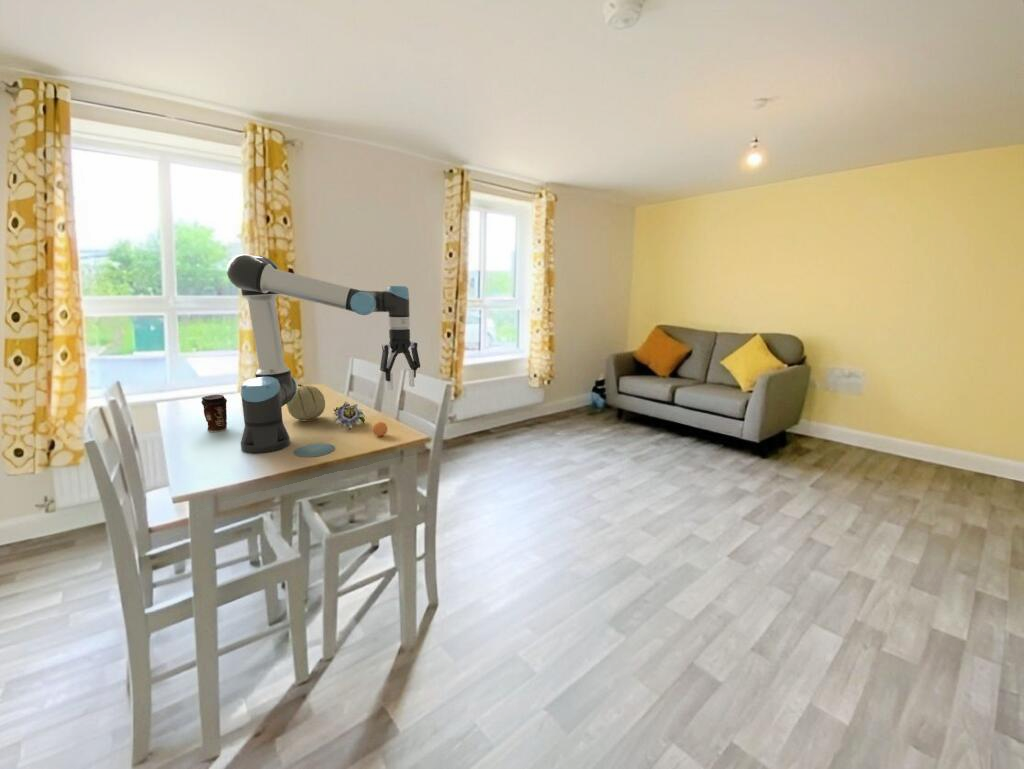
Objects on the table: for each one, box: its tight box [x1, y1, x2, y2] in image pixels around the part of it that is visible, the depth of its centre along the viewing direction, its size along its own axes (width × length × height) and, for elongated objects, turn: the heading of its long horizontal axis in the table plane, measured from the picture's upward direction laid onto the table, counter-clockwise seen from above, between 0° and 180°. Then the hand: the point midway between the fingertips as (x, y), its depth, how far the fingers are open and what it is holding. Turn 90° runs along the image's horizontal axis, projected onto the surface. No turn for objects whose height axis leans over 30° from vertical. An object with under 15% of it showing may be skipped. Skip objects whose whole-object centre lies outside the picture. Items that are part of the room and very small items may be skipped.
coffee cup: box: [200, 394, 228, 433], centre depth 179 cm, size 9×8×13 cm
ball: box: [371, 421, 388, 437], centre depth 176 cm, size 6×6×6 cm
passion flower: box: [333, 401, 366, 429], centre depth 188 cm, size 11×11×12 cm
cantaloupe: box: [286, 383, 326, 422], centre depth 193 cm, size 15×15×15 cm
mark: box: [293, 442, 336, 458], centre depth 161 cm, size 13×13×1 cm
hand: (401, 387), depth 179 cm, fingers open, 8 cm apart
